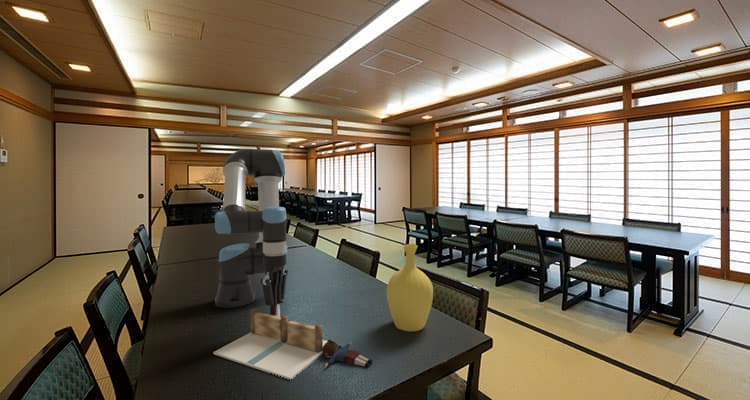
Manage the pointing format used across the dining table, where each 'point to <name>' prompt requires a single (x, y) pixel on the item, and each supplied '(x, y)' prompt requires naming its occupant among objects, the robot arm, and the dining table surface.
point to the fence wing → (269, 325)
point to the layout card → (269, 354)
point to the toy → (343, 354)
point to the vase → (410, 294)
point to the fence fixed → (306, 335)
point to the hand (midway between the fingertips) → (275, 323)
